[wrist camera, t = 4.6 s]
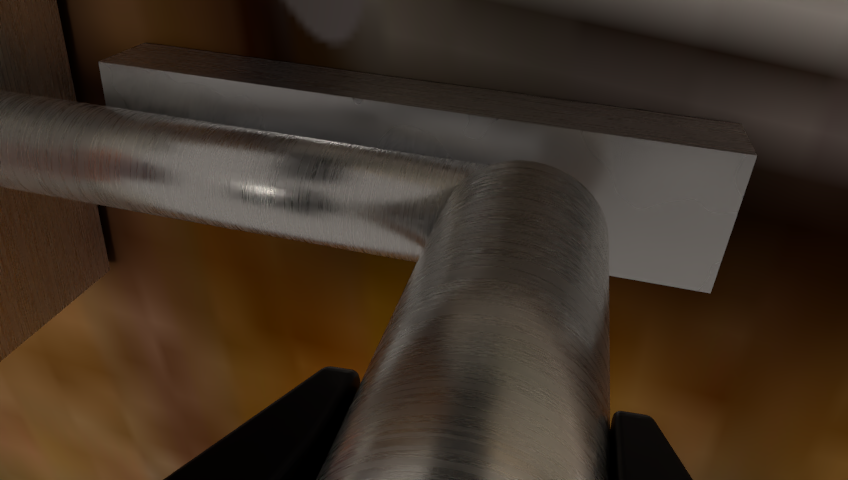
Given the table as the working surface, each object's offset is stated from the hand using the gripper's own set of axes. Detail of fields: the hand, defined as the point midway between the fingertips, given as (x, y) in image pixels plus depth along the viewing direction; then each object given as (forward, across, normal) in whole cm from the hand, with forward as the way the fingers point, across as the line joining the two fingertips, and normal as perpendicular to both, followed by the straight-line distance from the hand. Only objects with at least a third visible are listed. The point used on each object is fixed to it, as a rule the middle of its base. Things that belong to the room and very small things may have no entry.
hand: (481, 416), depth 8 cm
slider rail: (+8, +3, 0) cm, 8 cm away
